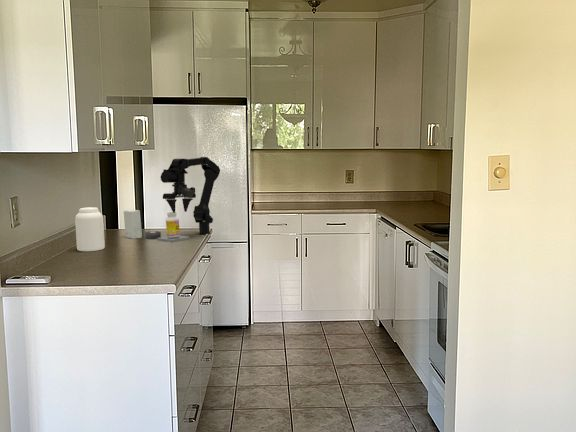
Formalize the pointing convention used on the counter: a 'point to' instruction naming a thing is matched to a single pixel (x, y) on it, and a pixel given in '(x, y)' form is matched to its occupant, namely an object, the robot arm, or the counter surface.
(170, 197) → the robot arm
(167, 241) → the grey flat square piece
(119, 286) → the counter surface
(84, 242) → the white jar
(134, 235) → the skincare box
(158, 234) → the dark grey thick disc
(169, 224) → the supplement bottle
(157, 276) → the counter surface
